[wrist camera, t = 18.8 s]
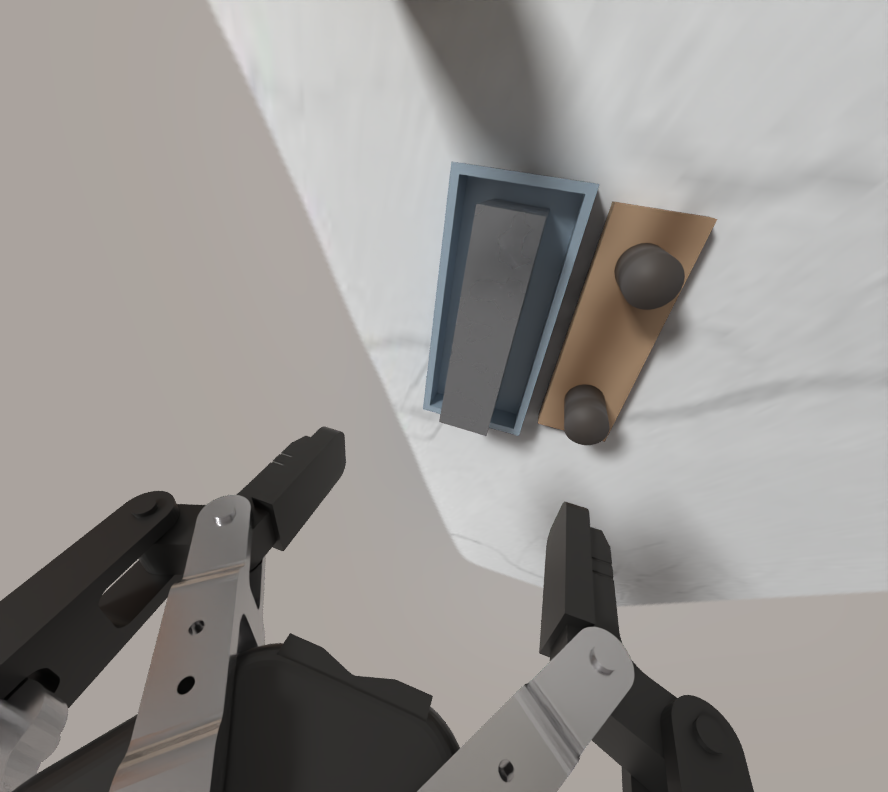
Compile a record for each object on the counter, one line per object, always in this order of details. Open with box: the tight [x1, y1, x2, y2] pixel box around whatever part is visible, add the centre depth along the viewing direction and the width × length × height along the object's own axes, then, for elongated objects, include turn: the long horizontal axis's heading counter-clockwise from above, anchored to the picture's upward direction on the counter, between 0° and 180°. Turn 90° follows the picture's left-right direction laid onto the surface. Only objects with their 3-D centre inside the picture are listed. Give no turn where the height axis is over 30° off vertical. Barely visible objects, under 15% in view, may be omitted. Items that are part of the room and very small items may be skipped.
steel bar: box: [439, 199, 550, 436], centre depth 27 cm, size 4×16×6 cm, turn 172°
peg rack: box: [538, 202, 717, 445], centre depth 26 cm, size 6×18×6 cm, turn 173°
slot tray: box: [423, 162, 599, 436], centre depth 28 cm, size 9×20×3 cm, turn 173°
